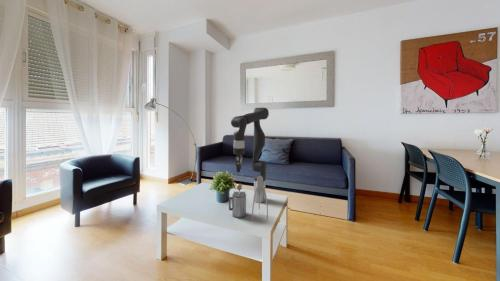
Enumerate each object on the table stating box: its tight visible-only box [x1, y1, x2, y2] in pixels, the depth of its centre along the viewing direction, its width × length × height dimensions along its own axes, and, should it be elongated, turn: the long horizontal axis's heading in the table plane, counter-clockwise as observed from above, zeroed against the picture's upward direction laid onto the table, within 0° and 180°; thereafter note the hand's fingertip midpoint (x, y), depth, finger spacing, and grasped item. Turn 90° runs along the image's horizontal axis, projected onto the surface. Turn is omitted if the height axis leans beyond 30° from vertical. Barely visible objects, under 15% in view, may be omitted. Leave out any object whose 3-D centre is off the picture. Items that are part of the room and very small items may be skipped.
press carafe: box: [228, 191, 247, 219], centre depth 142 cm, size 9×12×15 cm
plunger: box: [236, 183, 243, 194], centre depth 141 cm, size 7×7×18 cm
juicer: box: [251, 176, 269, 222], centre depth 137 cm, size 10×9×30 cm
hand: (239, 170), depth 139 cm, fingers open, 8 cm apart
